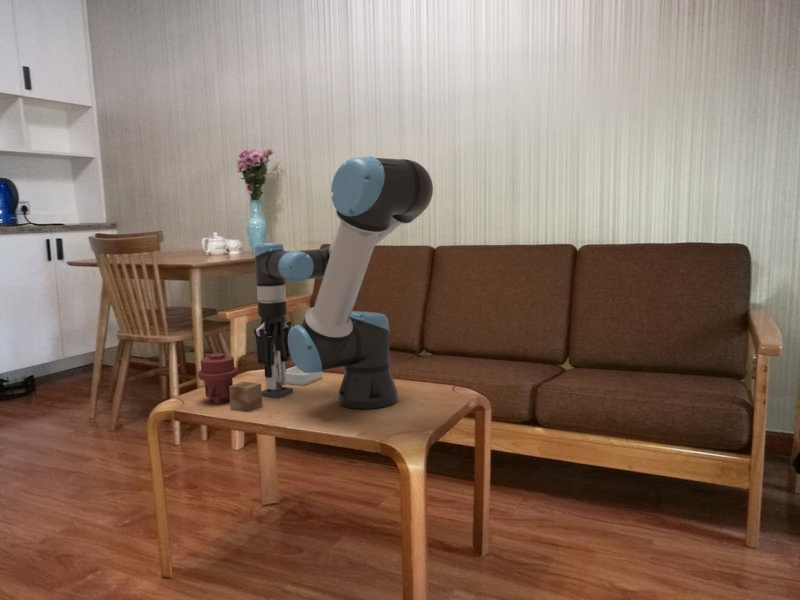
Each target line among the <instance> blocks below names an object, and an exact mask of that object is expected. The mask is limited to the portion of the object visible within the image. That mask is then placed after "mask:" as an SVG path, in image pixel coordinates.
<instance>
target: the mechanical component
mask: <svg viewBox="0 0 800 600" xmlns="http://www.w3.org/2000/svg"><path fill="white" fill-rule="evenodd" d="M238 375H239V370H238V368H237V367H235V357H234V356H233V355H227V354H225V353H222V352H219V353H218V352H217V353H212V354H209V355H208V356H206V357H203V358H202V359H201V360H200V369H199V371H198V372H197V376H198V379H200V380H201V381H204V389H205V390H204V392H205V398H207V399H208V398H209V401H213V402H214V404H215V405H220V404H222V403H224V402H226V401H230V394H229V386H231V385H234V382H233V378H236V377H237V376H238Z"/></svg>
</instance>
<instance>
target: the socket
mask: <svg viewBox="0 0 800 600" xmlns="http://www.w3.org/2000/svg"><path fill="white" fill-rule="evenodd" d="M261 392H262V397H264V398H265V397H266V398H273V399H274V398H275V399H280V398H283V397H286V396H287V395H290V394H292V393H294V389H293V387H286V386H282V391H281V392H279V393H275V392H271V389H266V388H265V389H263V390H261Z"/></svg>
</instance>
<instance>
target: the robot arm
mask: <svg viewBox="0 0 800 600" xmlns="http://www.w3.org/2000/svg"><path fill="white" fill-rule="evenodd" d="M330 187H331V188H330V189H331V191H330V192H331V193H332V195H331V201H332V204H333V206H334V209H336V211H335V214H336V216H337V218H338V220H340V221H339V225H338V228H337V232H336V235H335V238H334V240H333V242H331V243H330V244H329V245H328V246H327V247H325V248H323V249H321V248H318V249H302V250H285V248H284V245H283V243H281V242H261V243H260V242H259V243H257V244H255V246H254V258H253V259H254V267H255V280H256V281H255V282H256V292H257V293H256V294H257V295H256V296H257V301H259V302H257V315H258V317H260V319H261V321H260V326H259V327H258V328H255V327H254V329H253V333H254V336H255V341H256V342H255V343H256V353H257V354H256V355H257V363H258V365H261V366H263V368H264V377H265V387H266V388H265V390H266V389H273V390H275V389H276V375H275V365H273V352H274V350H280V357H281V376H282V386H286V385H287V384H286V369H287V362H289V360H290V358H291V359H292V361H293V363H294V365H295V366H297V367H298V369H300V370H301V371H302V372H304V373H315V372H318V373H319V372H321V371H322V372H324V371H325V372H326V371H329V370H333V369H339V368H342V367H343V368H344V373H343V377H342V382H341V384H340V387H339V390H338V391H339V392H338V403H339V404H340V405H341V406H343V407H345V408H350V409H356V410H357V409H358V410H359V409H360V410H371V409H379V408H380V409H381V408H386V407H388V406H392V405H394V404H396V403H397V402H398V399H399V397H398V396H399V394H398V389H397V386H396V383H395V381H394V378H393V375H392V372H391V358H390V357H391V355H390V354H391V353H390V332H391V330H390V325H389V319H388V316H387V315H386V314H384V313H381V312H371V311H361V310H360V311H359V310H358V311H357V310H353V309H354V307H355V303H356V300H357V297H358V296H359V295H358V294H359V292H360V289H361V286H362V284H363V281H364V278H365V275H366V273H367V269H368V266H369V263H370V260H371V257H372V254H373V252H374V248H375V246H376V245H377V244H379V243H380V242H382V240H384V239H385V238H386V237H387V236H389V235H390V234H392V232H394V231H395V230H396V229H397V228H399V227H400V226H401V225H405V224H410V223H412V222H413V221H414V220H416V219H417V218H418V217H420V216H421V215H422V214H423V213H424V211H426V209H427V208H428V207H429V205H430V203H431V201H432V198H433V193H434V185H433V181H432V178H431V175H430V174H429V172H428V171H427V169H426V168H425V167H424V166H422V165H421V164H420V163H419V162H417V161H414V160H410V159H406V158H405V159H404V158H401V159H400V158H399V159H398V158H384V157H375V156H374V157H373V156H362V157H353V158H352V157H351V158H350V159H347V160H345V161H344V162H342V163H341V165H340V166H339V167H338V168H337V170H336V171H335V173H334V175H333V179H332V183H331V186H330ZM312 279H313V280H314V279H315V280H316V279H322V281H321V284H320V287H319V290H318V294H317V296H316V299H315V303H314V307H310V308H309V309H307V310H306V311H305V314H304V317H303V321H302V323H301V324H295V325H294V326H292V325H293V323H292V321H289V320H288V321H287V320H286V319H285V316H286V315H287V314H288V312H287V311H288V310H287V307H288V306H287V302H286V299H287V290H286V287H287V286H286V282H287V281H288V282H292V283H296V282H298V283H299V282H304V281H306V280H312ZM274 348H275V349H274Z"/></svg>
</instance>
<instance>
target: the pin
mask: <svg viewBox="0 0 800 600" xmlns="http://www.w3.org/2000/svg"><path fill="white" fill-rule="evenodd" d="M273 365H275V375H276V389H275V390H273V389H271V392H275V393H279V392H281V391H282V387H283V385H282V376H281V357H280V350H276V349H274V352H273Z"/></svg>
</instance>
